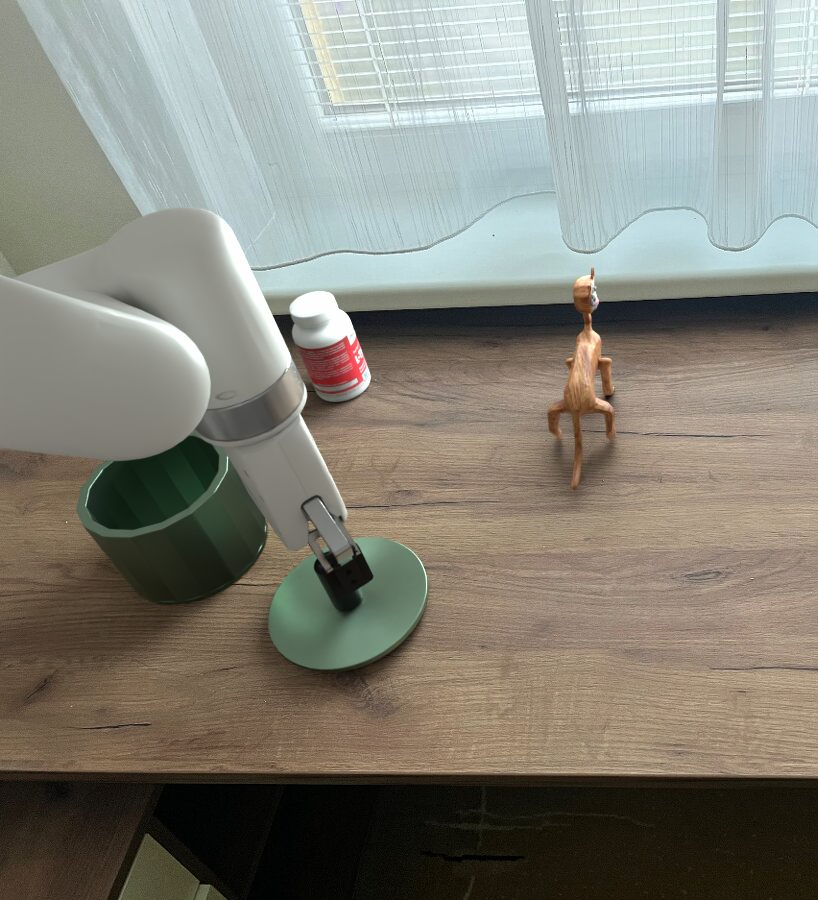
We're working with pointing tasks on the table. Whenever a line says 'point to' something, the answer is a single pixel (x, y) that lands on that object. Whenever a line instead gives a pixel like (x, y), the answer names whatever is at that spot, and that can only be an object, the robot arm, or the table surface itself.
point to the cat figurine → (584, 377)
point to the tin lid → (349, 610)
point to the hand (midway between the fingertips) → (327, 550)
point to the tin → (174, 521)
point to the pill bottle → (328, 347)
